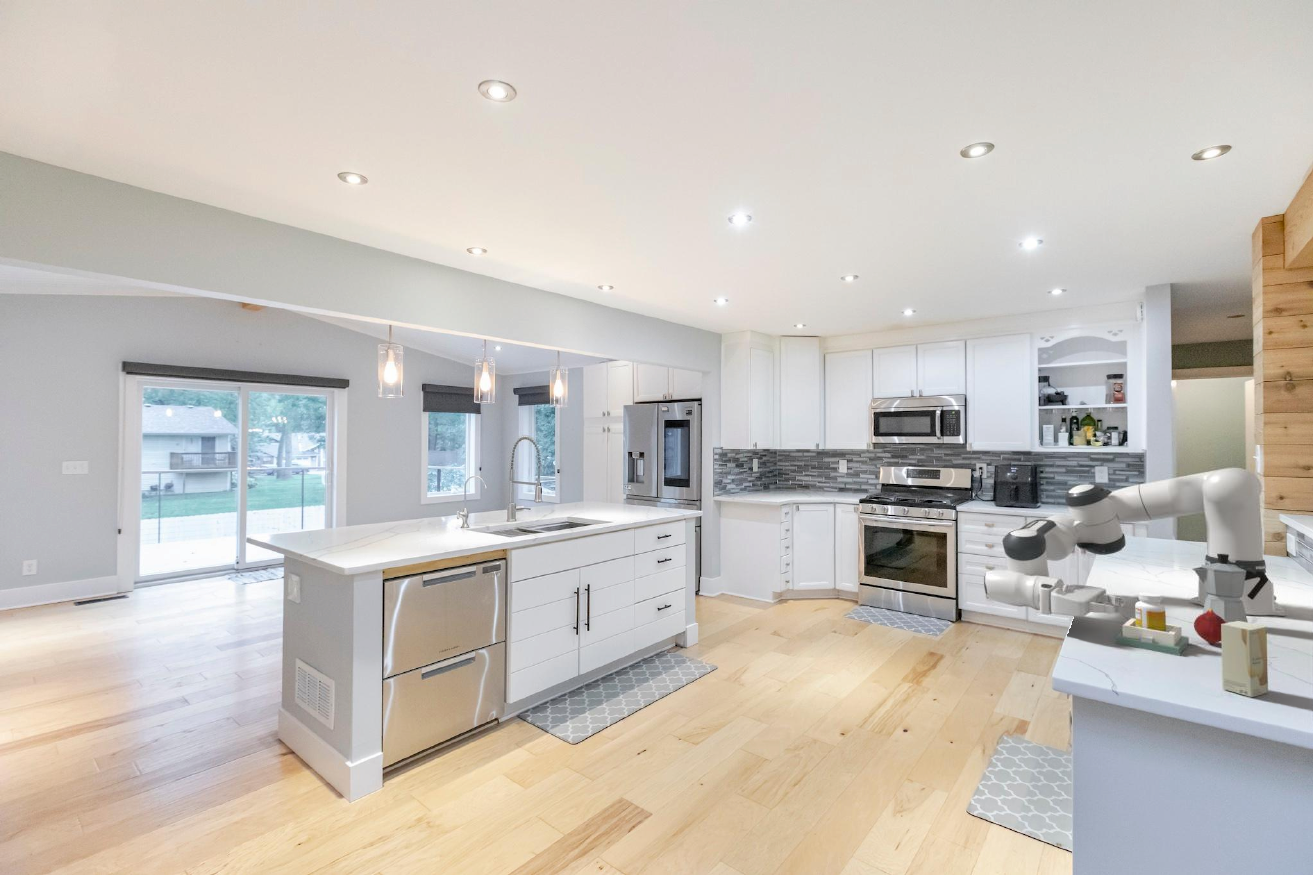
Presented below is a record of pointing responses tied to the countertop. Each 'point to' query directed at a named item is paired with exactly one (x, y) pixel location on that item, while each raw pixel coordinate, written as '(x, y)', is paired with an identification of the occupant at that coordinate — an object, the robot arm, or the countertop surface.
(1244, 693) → the skincare box
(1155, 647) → the board
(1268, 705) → the countertop surface
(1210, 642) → the onion
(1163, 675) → the countertop surface
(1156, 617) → the supplement bottle
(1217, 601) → the coffee maker
